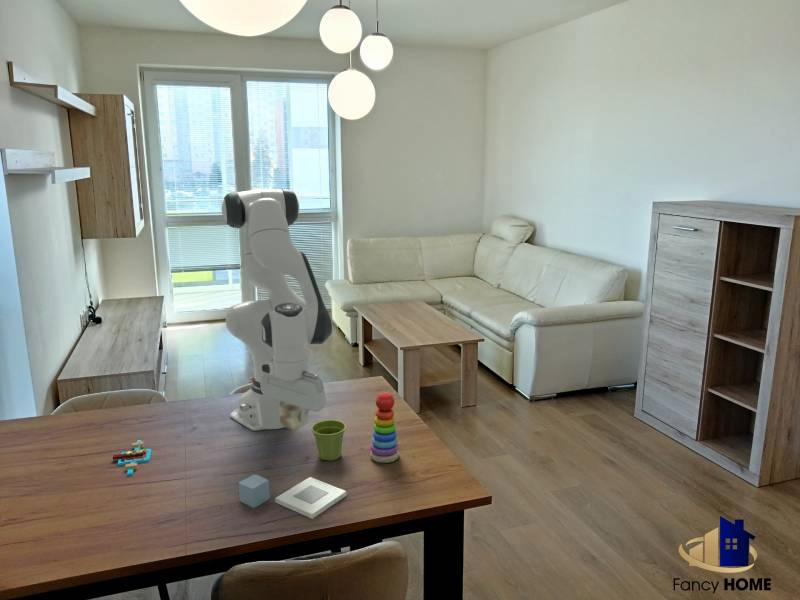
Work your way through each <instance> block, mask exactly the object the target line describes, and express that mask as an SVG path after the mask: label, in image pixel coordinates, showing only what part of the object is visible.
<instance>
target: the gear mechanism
mask: <svg viewBox="0 0 800 600" xmlns="http://www.w3.org/2000/svg"><path fill="white" fill-rule="evenodd" d="M144 447H145V443H144V441H143V440H142V439H139V440H137V441H136V442H132V444H131V448H132V450H129V451H128V450H126V451H123V452H121V453H119V454H113V455H112V460H118V461H117V465H118V466H124V469H125V470H124V471H125V472H127V473H126V475H127V477H128V476H133V474H134V471H137V470H138V468H139V466H138V464H140V463H141V464H142V463H147V462H149V461H150V458H151V454H152V449H151V448H144ZM123 459H124V460H123Z"/></svg>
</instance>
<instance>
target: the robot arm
mask: <svg viewBox="0 0 800 600" xmlns="http://www.w3.org/2000/svg"><path fill="white" fill-rule="evenodd" d="M299 213H300V203H299V199H298V197H297V194H295V192H294V191H293V190H291V189H286V188H281V189H274V188H259V189H253V190H245V191H244V190H243V191H232V192H229V193H227V194H225V196H224V197H223V201H222V205H221V214H222V217H223V219H224V221H225V223H226V225H227V226H229V227H230V228H233V229H241V228H243V242H242V244H243V255H244V256H243V259H244V267H245V276H246V280H247V282H248V283H249V284H250V285H252V286H253V287H255V288H258V289H260V290H263V291H265V292H266V293H267V294H268V298H267V299H257V300H249V301H243V302H240V303H236V304H233V305H231V306H230V307H229V308H228V310H227V311H226V314H225V325H226V328H227V331H228V332H229V333H230V335H232V336H233V337H234V338H236V339H238V340H239V341H241V342H242V343H243V344H244V345H245V346H246V347H247V349H248V350H249V352H250V354H251V357H252V362H253V371H254V377H252V378H250V379H248V380H249V382H248V383H250V384H251V383H252V384H251V388H250V389H249V390H247V391H246V392H244V394H241V396H240V397H239V398H238V401H237V408H236V409H234V410H233V411H232V412H230V415H229V416H230V418H231V419H233V420H235V421H236V422H237V423H239V424H241V425H242V426H244V427H245V428H247V429H249V430H251V431H253V432H254V431H261V430H278V429H283V428H285V427H284V426H281V425H280V413H279V407H281V406H283V405H285V404H288V403H289V404H292V405H295V406H298V407H300V408H301V411H302V413H301V415H298V421H300V422H302V423H304V422H306V421H307V416H308V414H309V413H310V412H311V411H312V412H314V413H316V412H317V413H318V412H319V411H322V410H324V408H325V407H326V405H327V400H326V398H327V397H326V392H325V387H324V384H323V383H324V382H323V379H321V377H320V376H319V375H318V374H316V373H311V372H310V359H309V352H308V349H307V348H308V347H307V345H322V344H324V343H325V342H326V341H327V340H328V339H329V338H330V336H331V335H332V333H333V322H332V319H331V316H330V313H329V311H328V308H327V307H326V305H325V302H324V301H323V298H322V294H321V291H320V288H319V287H318V284H317V280H316V278H315V274H314V272H313V269H312V267H311V265H310V262H309V259H308V257H307V255H306V254H305V252H303V251H300V250H299V249H298V248H297V247H296V245H295V244H294V242H293V240H292V238H291V234H290V229H289V226H292V225H293V224H294V223H295V222H296V221H297V220H298V217H299ZM285 275H287V276H289V277H292V278H293V279H294V280H296V281H297V283H298V285H299V287H300V290H301V293H302V296H303V297H301V296H300V295H298V294H297V293H296V292H295V291H294V290H293V289H292V287H291V286H290V285H289V283H288V281H287V278H286V276H285Z"/></svg>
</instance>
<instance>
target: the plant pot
mask: <svg viewBox="0 0 800 600" xmlns="http://www.w3.org/2000/svg"><path fill="white" fill-rule="evenodd" d="M346 429H347V425H346V423H344V422H343V421H341V420H338V419H337V420H336V419H326V420H322V421H321V420H320V421H318V422H315V423H314V424H313V425H312V426H311V431H312V433H313V436H314V437H315V443H316V448H317V454H318V457H319V459H320V460H322V461H323V460H325V461H335V460H337V459H339V458H340V457H341V456H342V451H343V449H342V448H343V439H344V434H345V431H346Z"/></svg>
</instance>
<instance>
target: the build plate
mask: <svg viewBox="0 0 800 600" xmlns="http://www.w3.org/2000/svg"><path fill="white" fill-rule="evenodd" d="M346 496H347V490H345V489H342V488H339V487H336V486H334V485H332V484H330V483H326V482H325V481H321V480H319V479H317V478H314V477H312V476H309V477H308V478H306V479H304V480H303V481H301V482H299V483H298V484H296V485H295V486H292V487H290V489H287V490H286V491H284V492H283V493H281V494H279V495H277V496H276V497H275V498H274V501H275V503H276V504H278V505H281V506H282V507H285V508H287V509H289V510H291V511H294V512H296V513H298V514H300V515H303V516H305V517H307V518H309V519H311V520H313V519H315V518H317V516H319V515H321V513H324V512H325V511H326V510H328V509H329V508H330V507H332V506H333V505H334V504H336V503H338V502H339V501H340V500H343V498H345V497H346Z"/></svg>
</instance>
